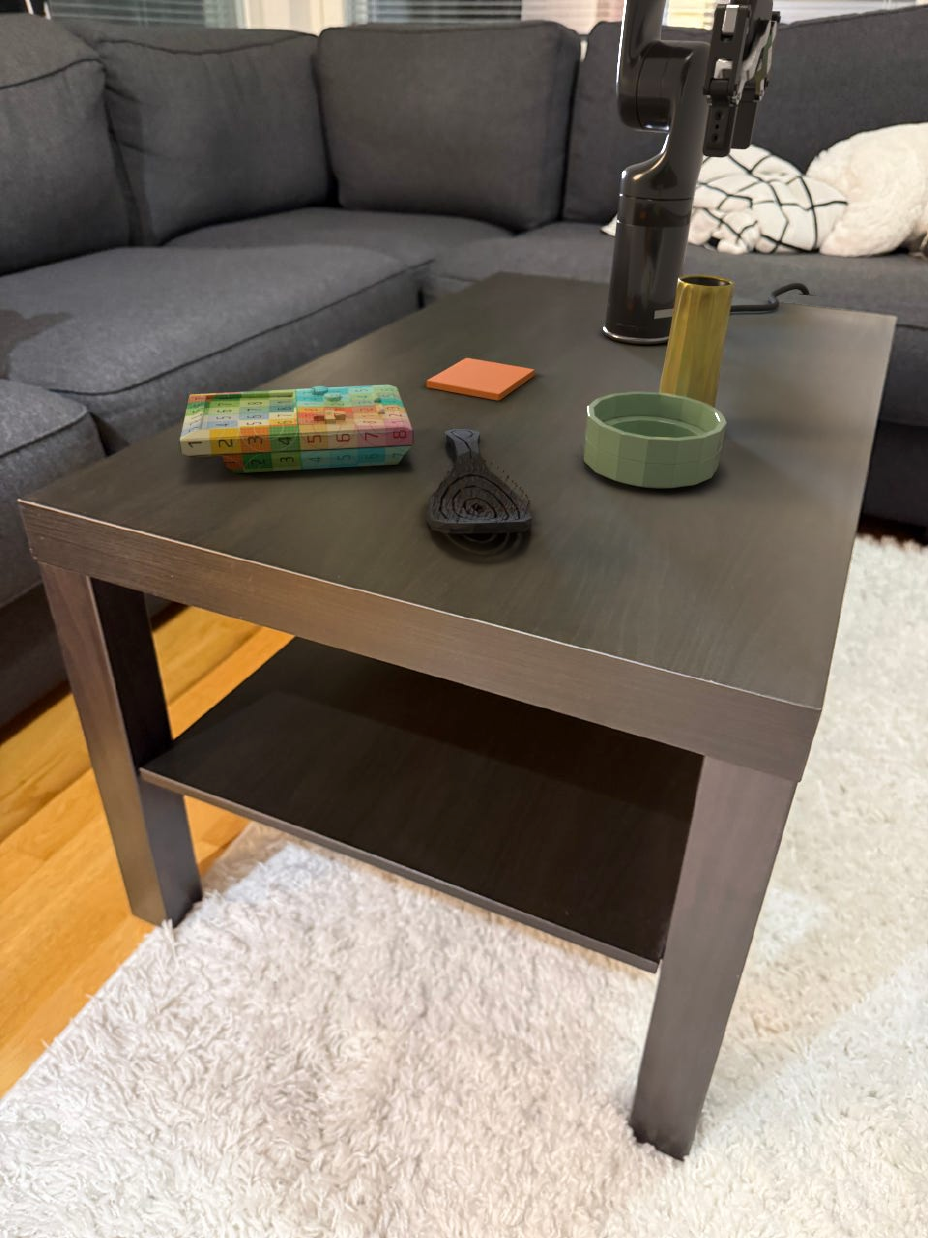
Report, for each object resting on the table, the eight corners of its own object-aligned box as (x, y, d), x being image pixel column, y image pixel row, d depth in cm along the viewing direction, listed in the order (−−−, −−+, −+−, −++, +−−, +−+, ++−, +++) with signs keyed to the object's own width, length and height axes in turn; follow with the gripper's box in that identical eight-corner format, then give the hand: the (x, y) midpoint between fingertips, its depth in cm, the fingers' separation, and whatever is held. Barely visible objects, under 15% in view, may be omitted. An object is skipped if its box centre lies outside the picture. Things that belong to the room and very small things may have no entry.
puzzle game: (413, 420, 76) (177, 430, 73) (413, 469, 79) (185, 482, 76) (397, 377, 86) (187, 385, 83) (398, 423, 88) (195, 432, 85)
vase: (713, 438, 87) (741, 289, 79) (651, 432, 88) (673, 284, 80) (711, 417, 92) (737, 275, 84) (652, 412, 93) (673, 271, 85)
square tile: (466, 363, 105) (466, 357, 105) (534, 375, 102) (535, 369, 102) (426, 387, 98) (426, 380, 98) (498, 401, 95) (499, 393, 94)
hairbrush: (501, 408, 85) (545, 510, 63) (500, 444, 87) (542, 556, 65) (416, 409, 84) (431, 513, 63) (417, 445, 86) (431, 559, 64)
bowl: (607, 432, 88) (612, 383, 85) (728, 456, 83) (738, 405, 80) (563, 476, 78) (568, 423, 76) (696, 505, 74) (707, 450, 71)
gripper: (737, -73, 74) (704, 144, 83) (695, -96, 63) (662, 156, 72) (829, -75, 71) (784, 149, 80) (801, -99, 60) (753, 162, 69)
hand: (726, 152), depth 76 cm, fingers open, 8 cm apart
